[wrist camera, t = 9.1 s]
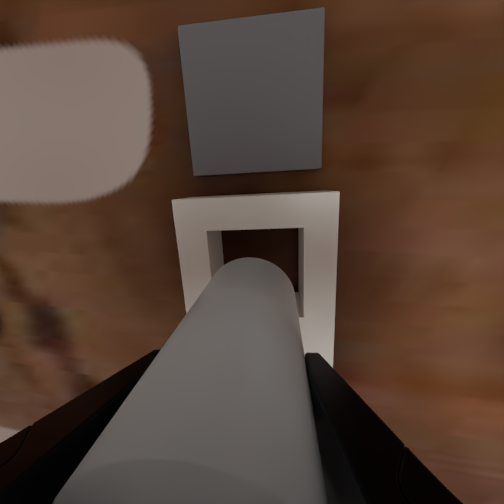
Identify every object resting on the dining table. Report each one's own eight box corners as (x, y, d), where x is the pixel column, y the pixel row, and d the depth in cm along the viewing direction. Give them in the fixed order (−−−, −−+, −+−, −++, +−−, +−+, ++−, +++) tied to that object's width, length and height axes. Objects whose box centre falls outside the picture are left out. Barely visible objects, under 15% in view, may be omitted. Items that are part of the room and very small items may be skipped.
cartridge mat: (196, 176, 18) (193, 175, 18) (182, 33, 16) (177, 26, 15) (319, 168, 18) (321, 168, 17) (322, 16, 15) (324, 7, 14)
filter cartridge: (232, 349, 13) (146, 662, 5) (192, 279, 12) (-11, 500, 4) (309, 320, 12) (386, 643, 4) (271, 242, 11) (251, 420, 3)
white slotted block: (214, 389, 24) (201, 429, 20) (192, 197, 19) (171, 199, 15) (321, 393, 22) (330, 436, 19) (326, 190, 18) (339, 191, 14)
